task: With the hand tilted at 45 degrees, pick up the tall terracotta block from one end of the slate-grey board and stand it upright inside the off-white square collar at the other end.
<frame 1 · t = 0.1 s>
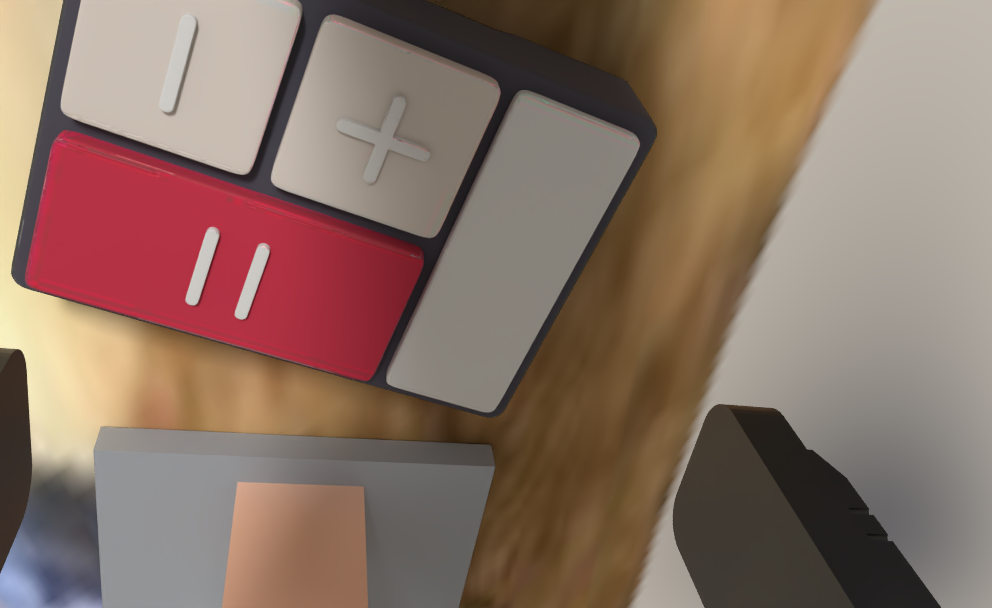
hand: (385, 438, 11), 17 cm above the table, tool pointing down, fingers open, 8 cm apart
calculator: (334, 154, 28), on the table
pillar block: (296, 527, 34), point 1 cm above the table, touching build board
build board: (288, 597, 38), on the table
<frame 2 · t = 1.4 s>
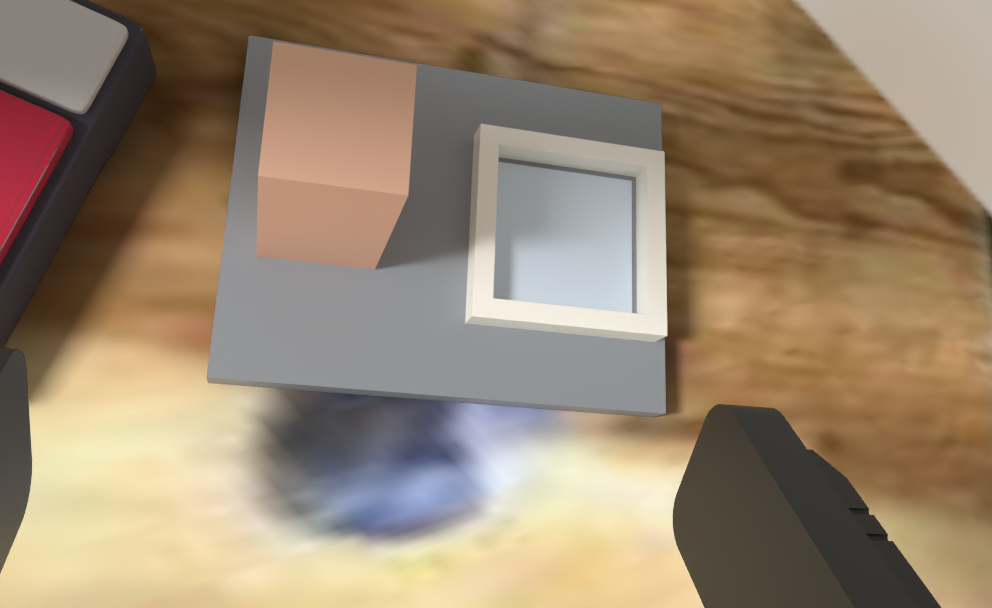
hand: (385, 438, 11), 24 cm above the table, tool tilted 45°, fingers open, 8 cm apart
pillar block: (321, 208, 35), point 1 cm above the table, touching build board
build board: (452, 235, 38), on the table
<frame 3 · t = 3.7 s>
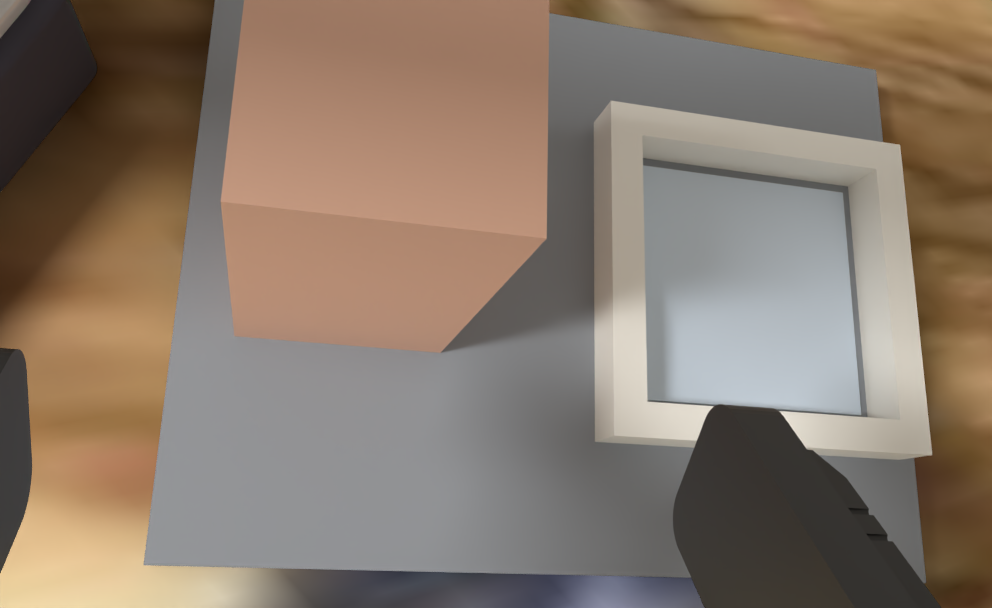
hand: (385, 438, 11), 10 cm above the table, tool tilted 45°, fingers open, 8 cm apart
pillar block: (347, 248, 21), point 1 cm above the table, touching build board
build board: (561, 285, 23), on the table
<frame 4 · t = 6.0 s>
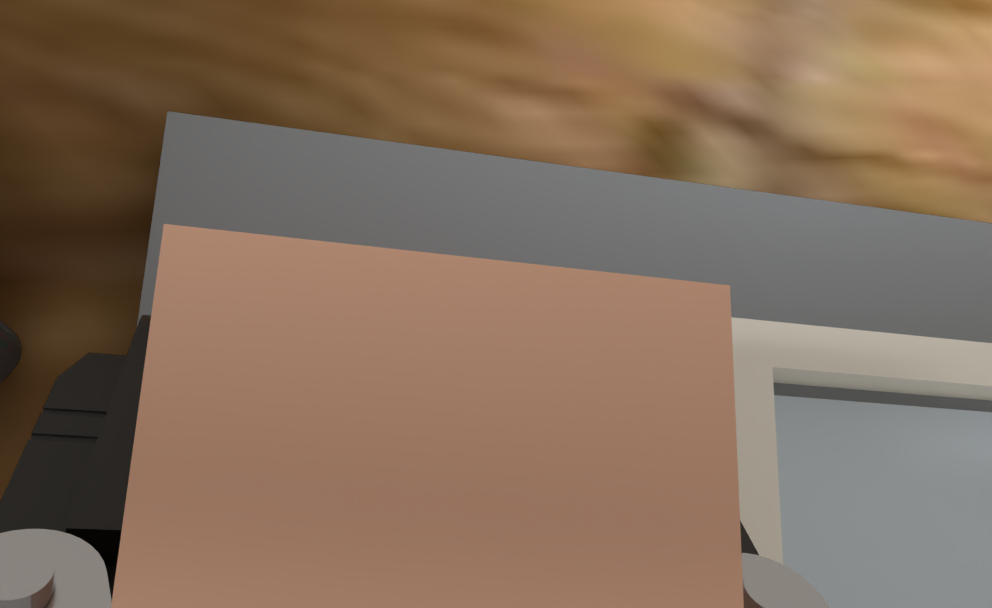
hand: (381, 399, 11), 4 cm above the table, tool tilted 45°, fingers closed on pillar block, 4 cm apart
pillar block: (349, 553, 14), point 1 cm above the table, touching build board, gripper
build board: (649, 563, 16), on the table
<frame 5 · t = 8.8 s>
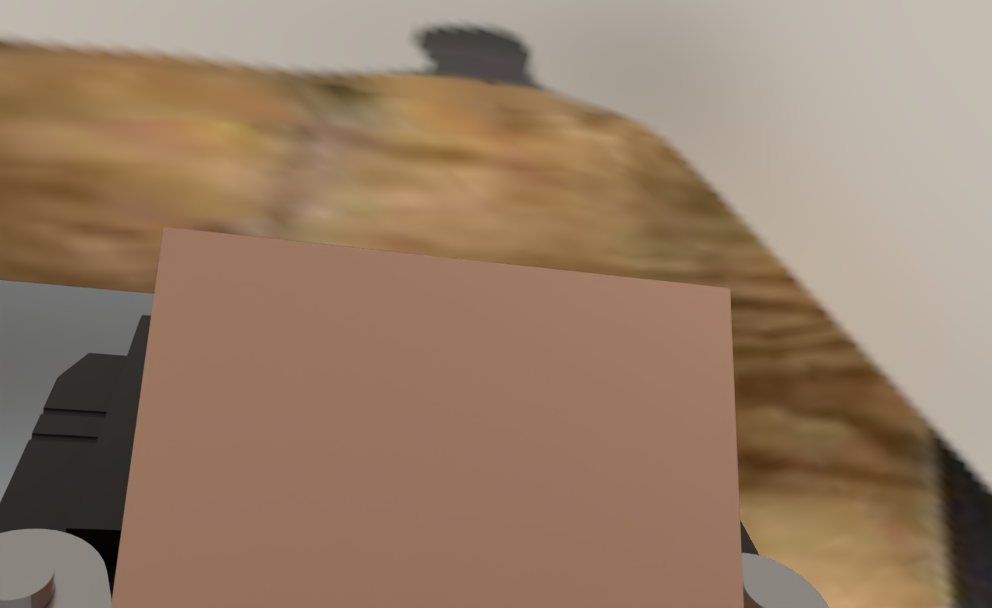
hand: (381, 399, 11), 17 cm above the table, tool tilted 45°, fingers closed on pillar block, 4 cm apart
pillar block: (349, 555, 14), point 14 cm above the table, touching gripper
build board: (142, 539, 26), on the table
when the fingers open (6 cm above the table, at t = 11.8 s): pillar block drops 2 cm, resting on build board.
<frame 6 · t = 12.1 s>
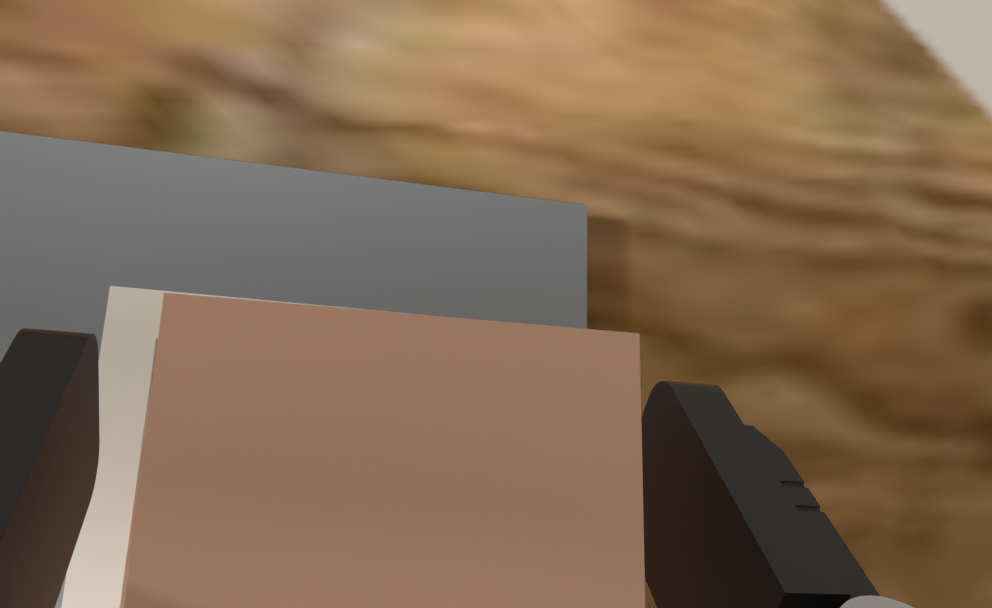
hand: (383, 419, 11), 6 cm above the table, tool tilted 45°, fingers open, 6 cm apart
pillar block: (333, 557, 15), point 1 cm above the table, touching build board
build board: (69, 546, 16), on the table
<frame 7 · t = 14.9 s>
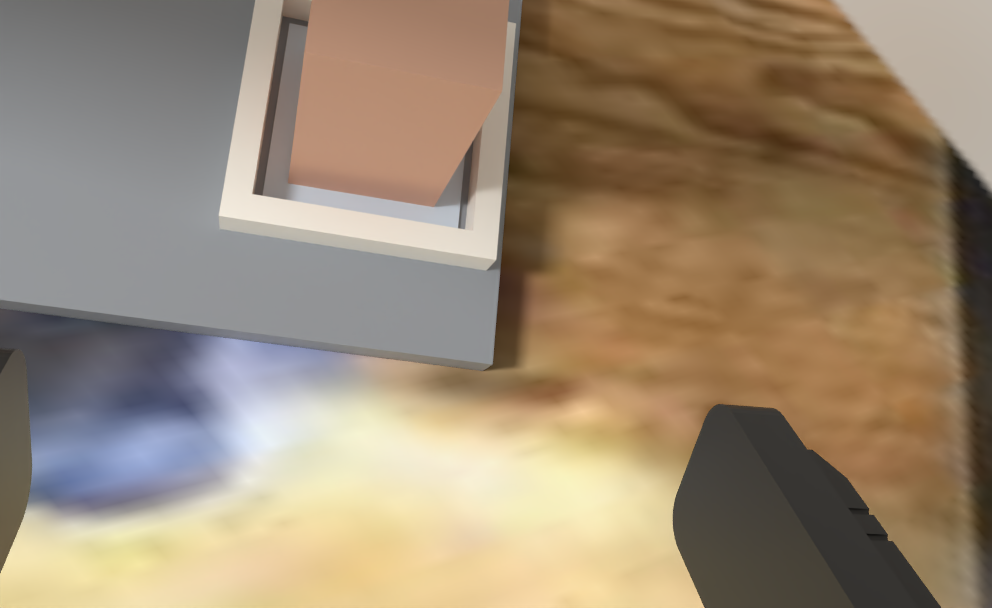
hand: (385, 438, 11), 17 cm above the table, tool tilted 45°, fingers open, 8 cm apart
pillar block: (370, 128, 28), point 1 cm above the table, touching build board
build board: (226, 118, 29), on the table
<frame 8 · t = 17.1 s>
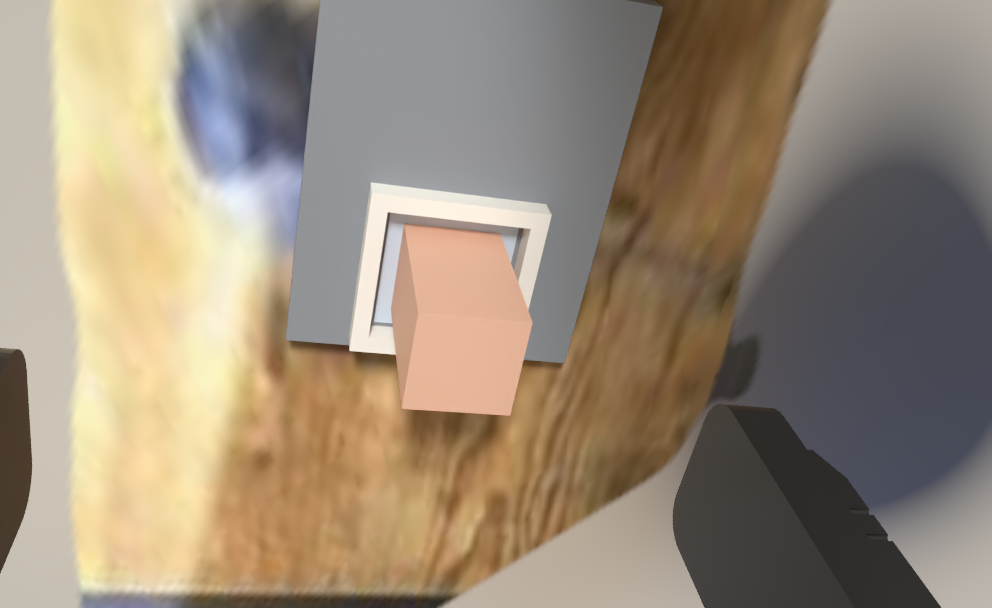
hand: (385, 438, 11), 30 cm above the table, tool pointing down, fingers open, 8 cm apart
pillar block: (444, 271, 42), point 1 cm above the table, touching build board
build board: (459, 174, 42), on the table
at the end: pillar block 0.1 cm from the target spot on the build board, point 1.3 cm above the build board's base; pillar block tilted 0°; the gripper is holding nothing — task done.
